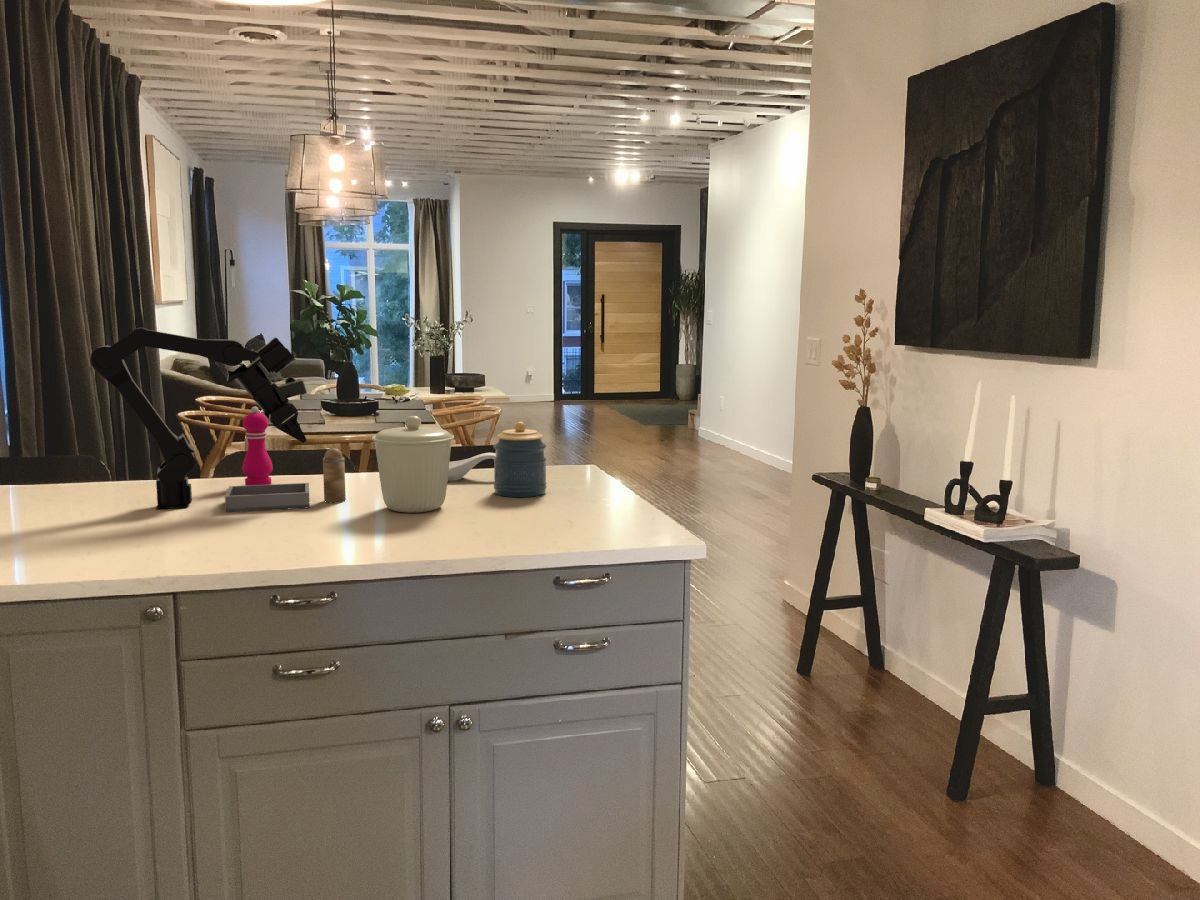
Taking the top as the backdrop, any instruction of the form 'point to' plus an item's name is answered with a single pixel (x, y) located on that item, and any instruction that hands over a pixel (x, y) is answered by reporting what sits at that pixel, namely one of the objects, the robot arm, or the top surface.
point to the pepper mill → (256, 450)
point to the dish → (267, 497)
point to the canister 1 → (413, 466)
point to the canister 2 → (520, 463)
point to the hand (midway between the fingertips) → (302, 439)
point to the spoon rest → (466, 466)
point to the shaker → (334, 476)
